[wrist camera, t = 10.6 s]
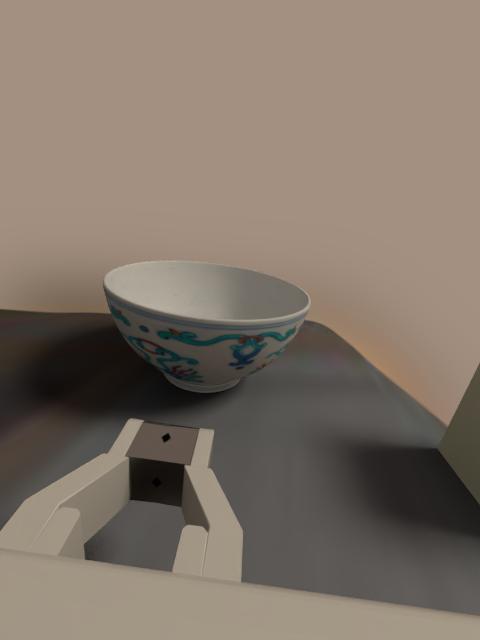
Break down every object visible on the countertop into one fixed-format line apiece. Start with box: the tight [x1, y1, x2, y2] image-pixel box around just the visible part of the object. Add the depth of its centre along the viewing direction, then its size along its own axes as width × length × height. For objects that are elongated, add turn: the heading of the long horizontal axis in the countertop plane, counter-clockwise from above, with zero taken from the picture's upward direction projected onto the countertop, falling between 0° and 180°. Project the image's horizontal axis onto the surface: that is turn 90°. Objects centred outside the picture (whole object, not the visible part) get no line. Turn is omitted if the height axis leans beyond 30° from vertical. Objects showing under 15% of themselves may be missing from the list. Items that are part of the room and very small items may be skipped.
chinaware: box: [103, 261, 311, 393], centre depth 24 cm, size 15×15×8 cm
